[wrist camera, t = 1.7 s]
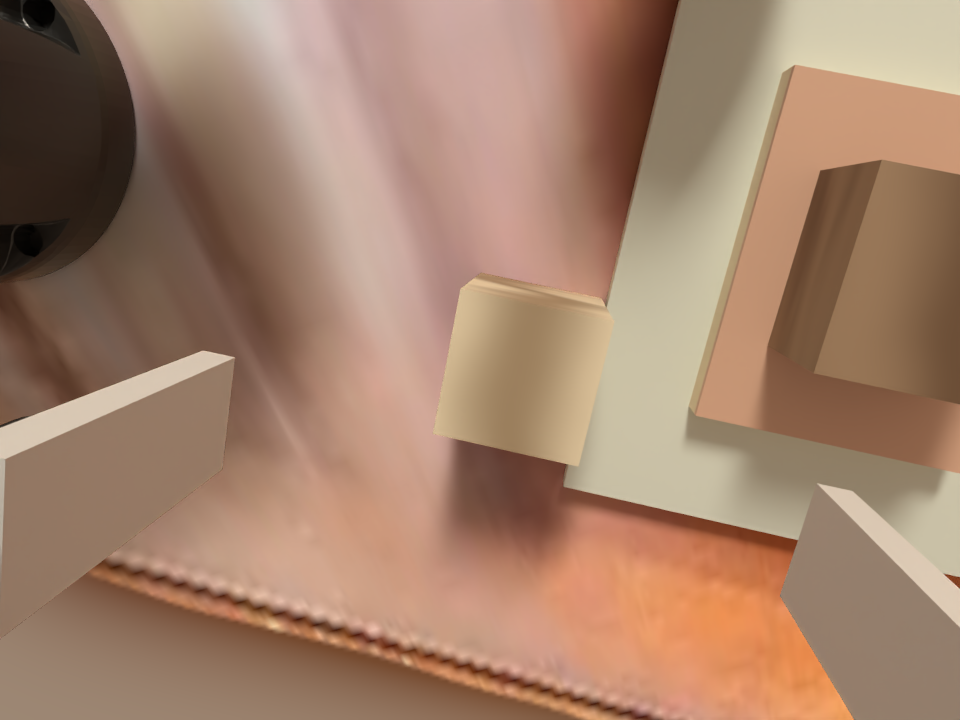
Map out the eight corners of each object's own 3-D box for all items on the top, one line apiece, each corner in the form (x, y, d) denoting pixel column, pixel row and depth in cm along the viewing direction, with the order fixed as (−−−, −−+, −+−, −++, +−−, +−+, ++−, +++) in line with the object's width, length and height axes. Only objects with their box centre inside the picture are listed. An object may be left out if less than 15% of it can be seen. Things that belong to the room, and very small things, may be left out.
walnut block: (767, 345, 28) (813, 373, 23) (820, 170, 26) (881, 159, 21) (942, 382, 27) (1027, 418, 22) (1006, 206, 26) (1113, 204, 21)
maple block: (458, 387, 32) (432, 433, 25) (481, 272, 31) (460, 288, 24) (573, 412, 32) (578, 466, 25) (600, 297, 30) (614, 321, 24)
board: (562, 478, 32) (563, 499, 30) (696, -76, 27) (711, -105, 24) (991, 575, 31) (1029, 606, 29) (1221, 16, 26) (1291, -5, 23)
